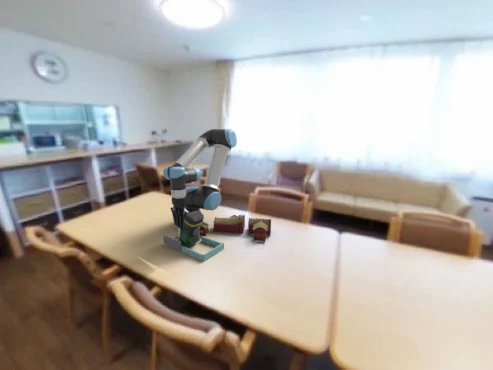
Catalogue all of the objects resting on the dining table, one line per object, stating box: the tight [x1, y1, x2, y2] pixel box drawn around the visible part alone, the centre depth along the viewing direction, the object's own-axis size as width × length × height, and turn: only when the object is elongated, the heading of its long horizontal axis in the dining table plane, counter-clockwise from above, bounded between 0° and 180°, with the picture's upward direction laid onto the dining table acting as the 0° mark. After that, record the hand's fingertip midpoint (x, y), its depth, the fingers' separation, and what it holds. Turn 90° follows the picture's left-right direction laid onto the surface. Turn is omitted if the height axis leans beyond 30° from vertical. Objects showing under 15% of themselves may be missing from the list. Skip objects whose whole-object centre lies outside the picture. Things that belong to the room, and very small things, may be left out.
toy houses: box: [200, 214, 272, 242], centre depth 141 cm, size 45×20×10 cm, turn 83°
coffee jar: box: [178, 211, 205, 248], centre depth 124 cm, size 10×8×19 cm
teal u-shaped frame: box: [181, 235, 225, 262], centre depth 121 cm, size 15×16×3 cm
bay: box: [162, 230, 201, 252], centre depth 129 cm, size 14×13×10 cm
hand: (181, 238), depth 129 cm, fingers closed
